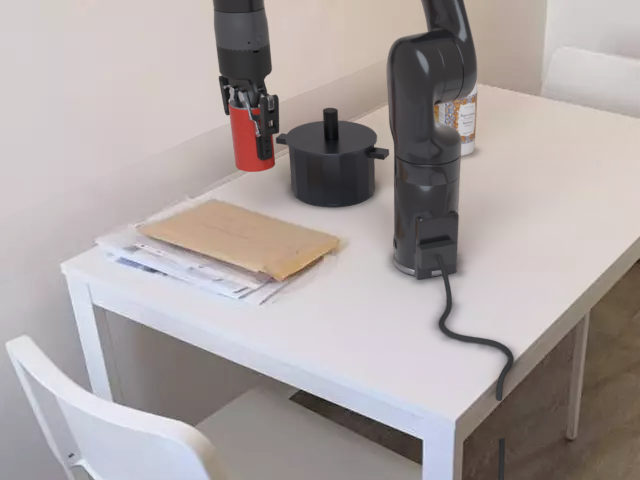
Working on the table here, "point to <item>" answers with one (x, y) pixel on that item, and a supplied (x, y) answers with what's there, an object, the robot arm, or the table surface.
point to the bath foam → (462, 119)
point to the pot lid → (331, 137)
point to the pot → (333, 176)
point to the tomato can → (246, 140)
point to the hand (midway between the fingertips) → (254, 151)
